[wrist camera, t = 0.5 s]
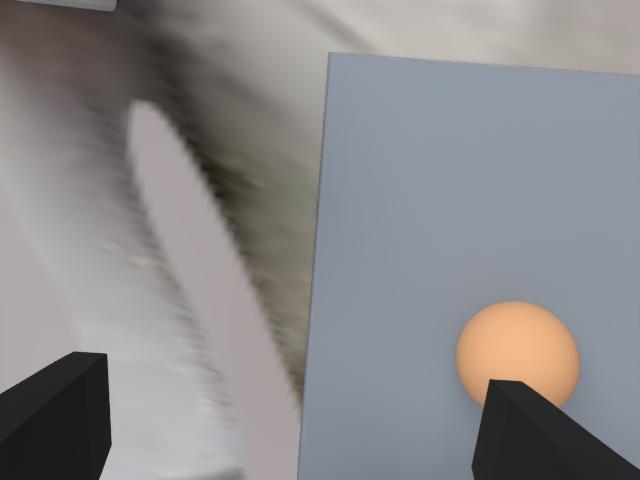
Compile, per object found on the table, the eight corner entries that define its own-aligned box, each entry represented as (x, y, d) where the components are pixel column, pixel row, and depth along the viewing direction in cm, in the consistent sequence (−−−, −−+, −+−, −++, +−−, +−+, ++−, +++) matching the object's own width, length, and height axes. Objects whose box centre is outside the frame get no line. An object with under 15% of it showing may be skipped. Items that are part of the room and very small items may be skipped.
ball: (539, 379, 19) (585, 450, 15) (437, 373, 18) (463, 443, 15) (561, 286, 17) (617, 341, 14) (453, 279, 17) (485, 333, 14)
